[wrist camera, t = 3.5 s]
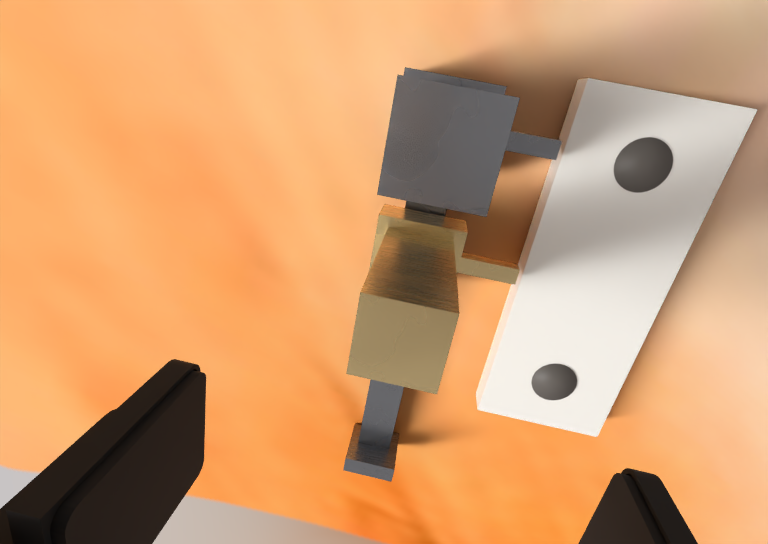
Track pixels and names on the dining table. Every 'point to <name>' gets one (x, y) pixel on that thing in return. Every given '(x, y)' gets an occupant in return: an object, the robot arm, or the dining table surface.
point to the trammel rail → (437, 197)
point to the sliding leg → (414, 297)
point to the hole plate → (605, 248)
